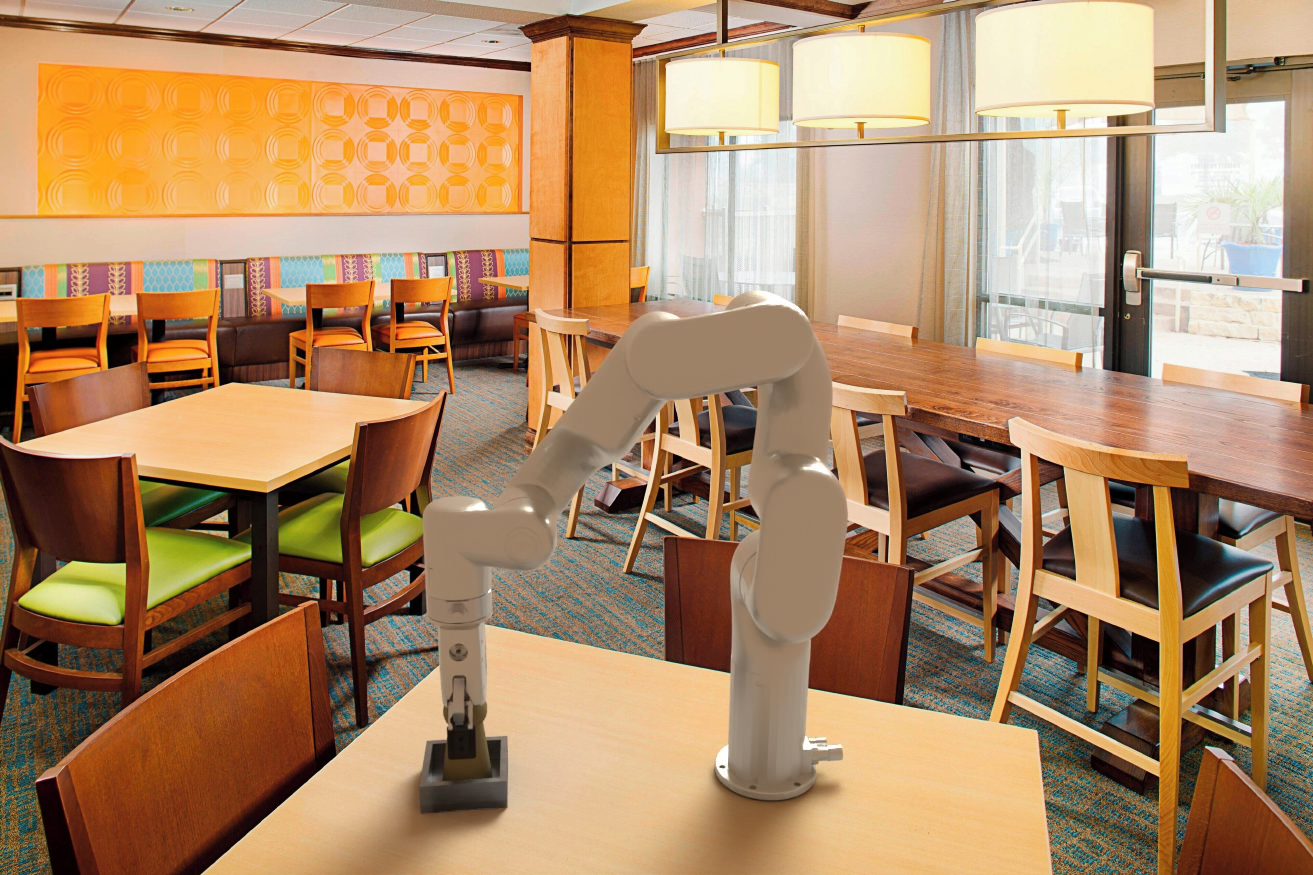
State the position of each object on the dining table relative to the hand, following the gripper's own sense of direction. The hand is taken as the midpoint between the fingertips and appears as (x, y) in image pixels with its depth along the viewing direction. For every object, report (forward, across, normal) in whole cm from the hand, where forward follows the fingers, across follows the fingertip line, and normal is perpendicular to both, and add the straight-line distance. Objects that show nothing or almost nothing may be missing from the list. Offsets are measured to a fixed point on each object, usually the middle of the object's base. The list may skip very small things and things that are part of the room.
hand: (464, 735), depth 118 cm
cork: (+6, 0, 0) cm, 6 cm away
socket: (+7, 0, 0) cm, 7 cm away
